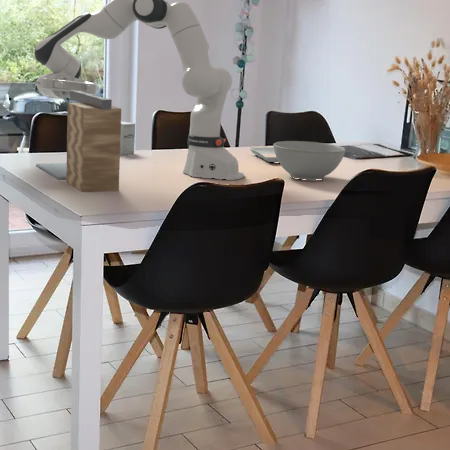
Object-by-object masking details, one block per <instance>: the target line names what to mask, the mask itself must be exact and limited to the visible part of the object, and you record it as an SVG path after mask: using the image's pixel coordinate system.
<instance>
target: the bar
mask: <svg viewBox="0 0 450 450" xmlns="http://www.w3.org/2000/svg"><path fill="white" fill-rule="evenodd" d="M69 99H70V101H74V102H76V103H83V104H86V105H89V106H93V107H96V108H99V109H102V110H111V106H113V104H112V103H113V102H112V99H111V98H107V97H103V96H100V95H98V94H97V95H96V94H94V95H93V94H90V93H86V92H82V91H79V90H70V97H69Z"/></svg>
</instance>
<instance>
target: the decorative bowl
mask: <svg viewBox="0 0 450 450" xmlns="http://www.w3.org/2000/svg"><path fill="white" fill-rule="evenodd" d="M272 145H273V146H272V147H273V148H274V151H275V155H276V157H277V159H278V161H279V163H280V164H279V165H280V166H281V168H283V170H284V171H286V172H287V173H288V174H289V177H290V176H291V177H294V178H299V179H306V180H316V179H322V178H323V179H324V178H325V177H326V176H328V175H330V174H331V173H333V172H334V171H335V170H336V168H337V167H338V166H339V165H340V163H341V162H342V160H343V158H344V156H345V154H346V148H344V147H343V146H340V145H336V144H331V143H325V142H316V141H303V140H302V141H301V140H300V141H298V140H283V141H276V142H274V143H273V144H272ZM291 177H290V178H291Z"/></svg>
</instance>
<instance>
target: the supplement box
mask: <svg viewBox="0 0 450 450" xmlns="http://www.w3.org/2000/svg"><path fill="white" fill-rule="evenodd" d="M135 137H136V123H134V122H128V121H121V137H120V156H122V155H130V154H131V155H132V153H134V154H135V139H136V138H135Z"/></svg>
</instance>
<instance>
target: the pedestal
mask: <svg viewBox="0 0 450 450" xmlns="http://www.w3.org/2000/svg"><path fill="white" fill-rule="evenodd" d="M66 113H67V115H66V117H67V118H66V119H67V121H66V122H67V123H66V124H67V126H66V127H67V129H66V163H67V172H66V179H65V180H66V183H67V184H69V185H70V186H73V187H74V188H75V189H77V190H79V191H81V192H83V193H91V192H112V191H113V192H114V191H115V192H117V191H120V186H119V185H120V164H121V163H120V160H121V155H120V137H121V122H122V108H120V107H117V106H113V105H111V110H102V109H99V108H96V107H93V106H89V105H86V104H83V103H80V102H67V112H66Z"/></svg>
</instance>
